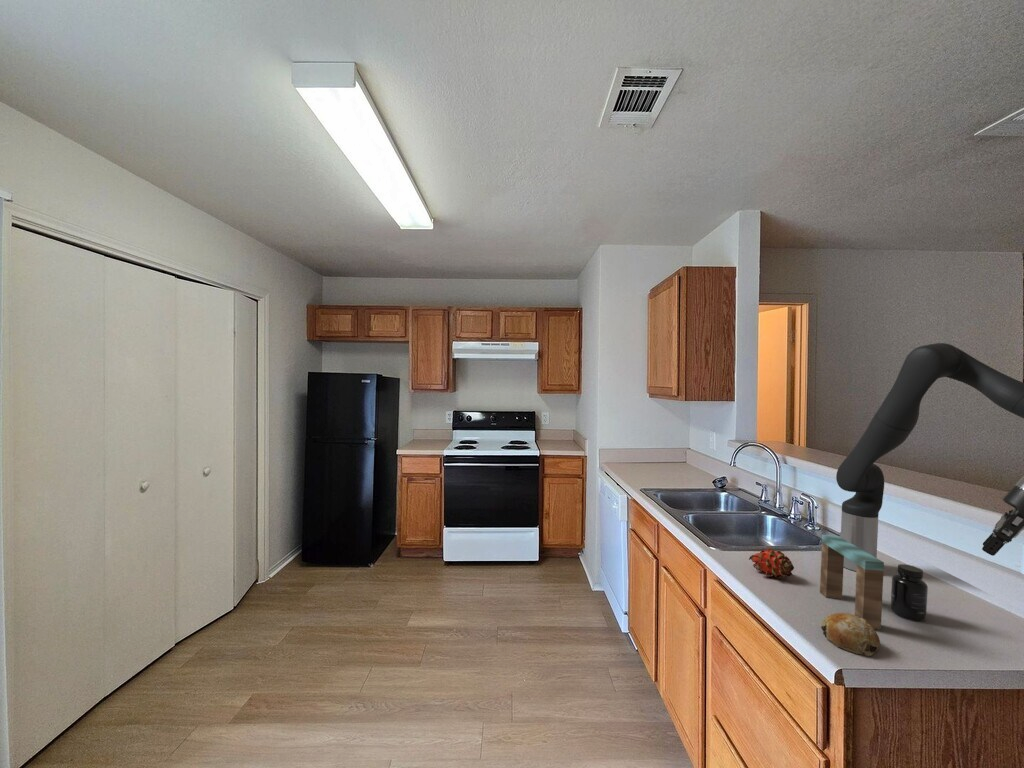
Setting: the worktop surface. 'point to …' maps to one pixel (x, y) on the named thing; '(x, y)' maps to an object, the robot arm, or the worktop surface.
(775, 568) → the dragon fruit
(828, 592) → the gate
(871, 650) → the bread roll
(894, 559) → the worktop surface
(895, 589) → the supplement bottle
